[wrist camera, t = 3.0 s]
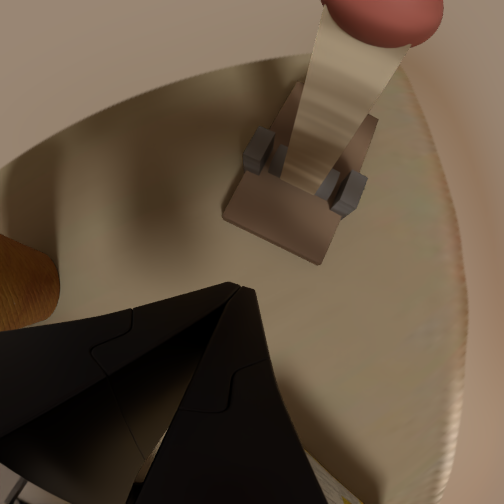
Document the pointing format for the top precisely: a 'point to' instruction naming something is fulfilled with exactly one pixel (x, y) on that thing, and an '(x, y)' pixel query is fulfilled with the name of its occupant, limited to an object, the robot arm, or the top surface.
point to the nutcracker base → (296, 189)
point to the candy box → (332, 485)
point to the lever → (348, 81)
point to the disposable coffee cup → (25, 285)
